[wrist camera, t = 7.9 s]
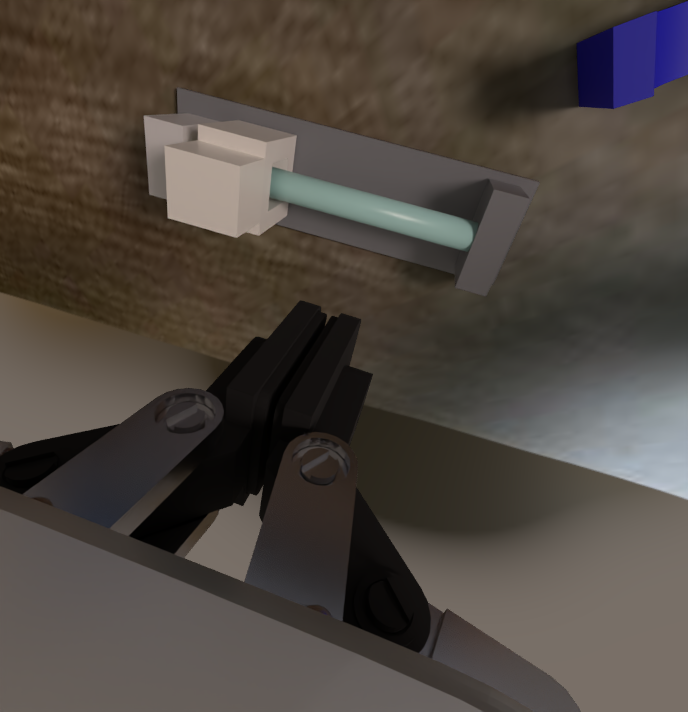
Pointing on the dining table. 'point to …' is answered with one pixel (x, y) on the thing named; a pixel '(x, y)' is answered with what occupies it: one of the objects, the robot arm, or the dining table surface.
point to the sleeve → (228, 177)
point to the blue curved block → (633, 58)
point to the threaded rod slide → (371, 191)
